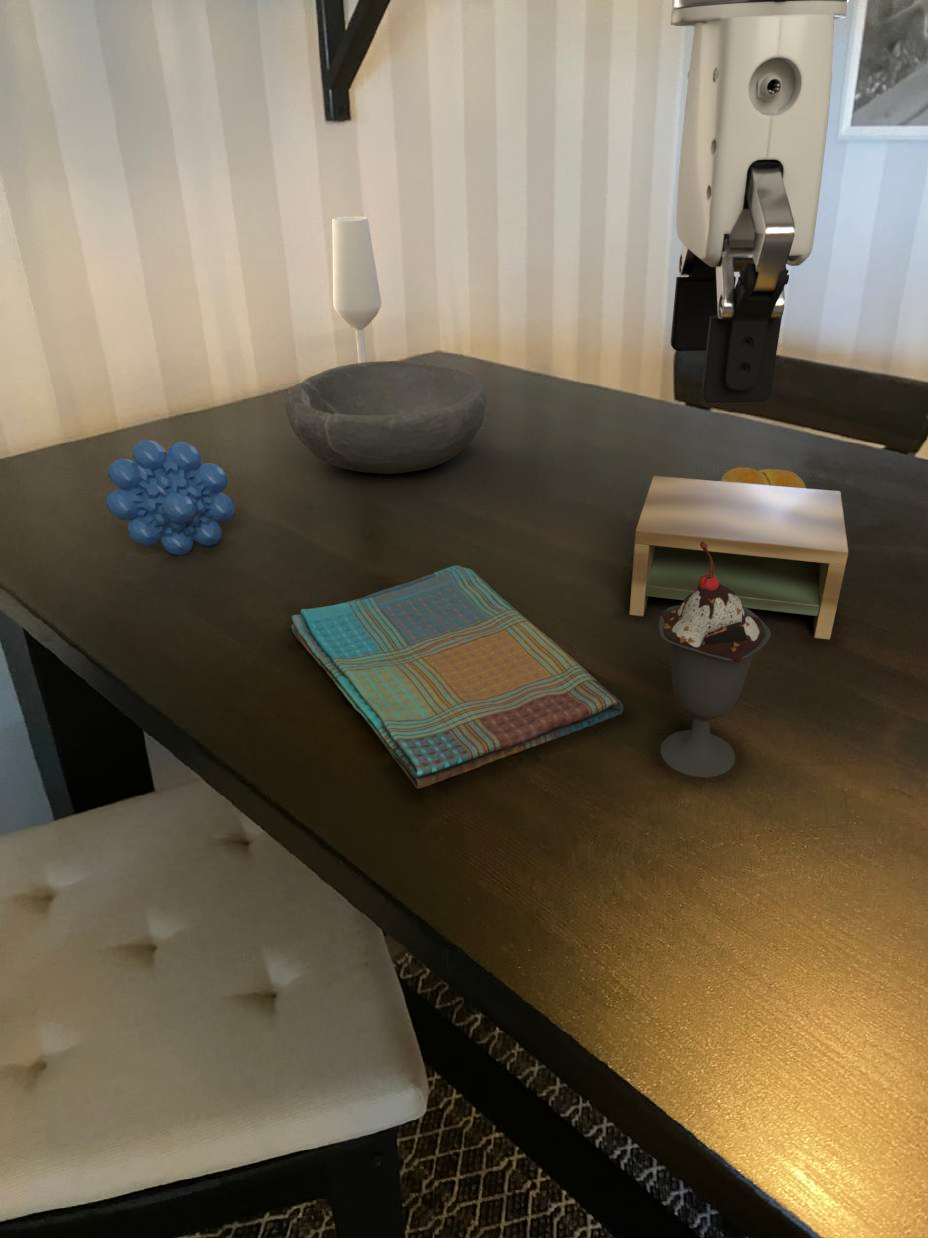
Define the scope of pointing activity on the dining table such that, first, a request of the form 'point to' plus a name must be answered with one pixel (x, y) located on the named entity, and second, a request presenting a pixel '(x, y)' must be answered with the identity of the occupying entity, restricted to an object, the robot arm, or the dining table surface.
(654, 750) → the dining table surface
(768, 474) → the bread roll
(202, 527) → the blue flower ornament
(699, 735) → the sundae
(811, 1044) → the dining table surface
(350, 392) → the bowl
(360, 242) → the champagne flute
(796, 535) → the shelf
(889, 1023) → the dining table surface
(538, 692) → the dish towel
